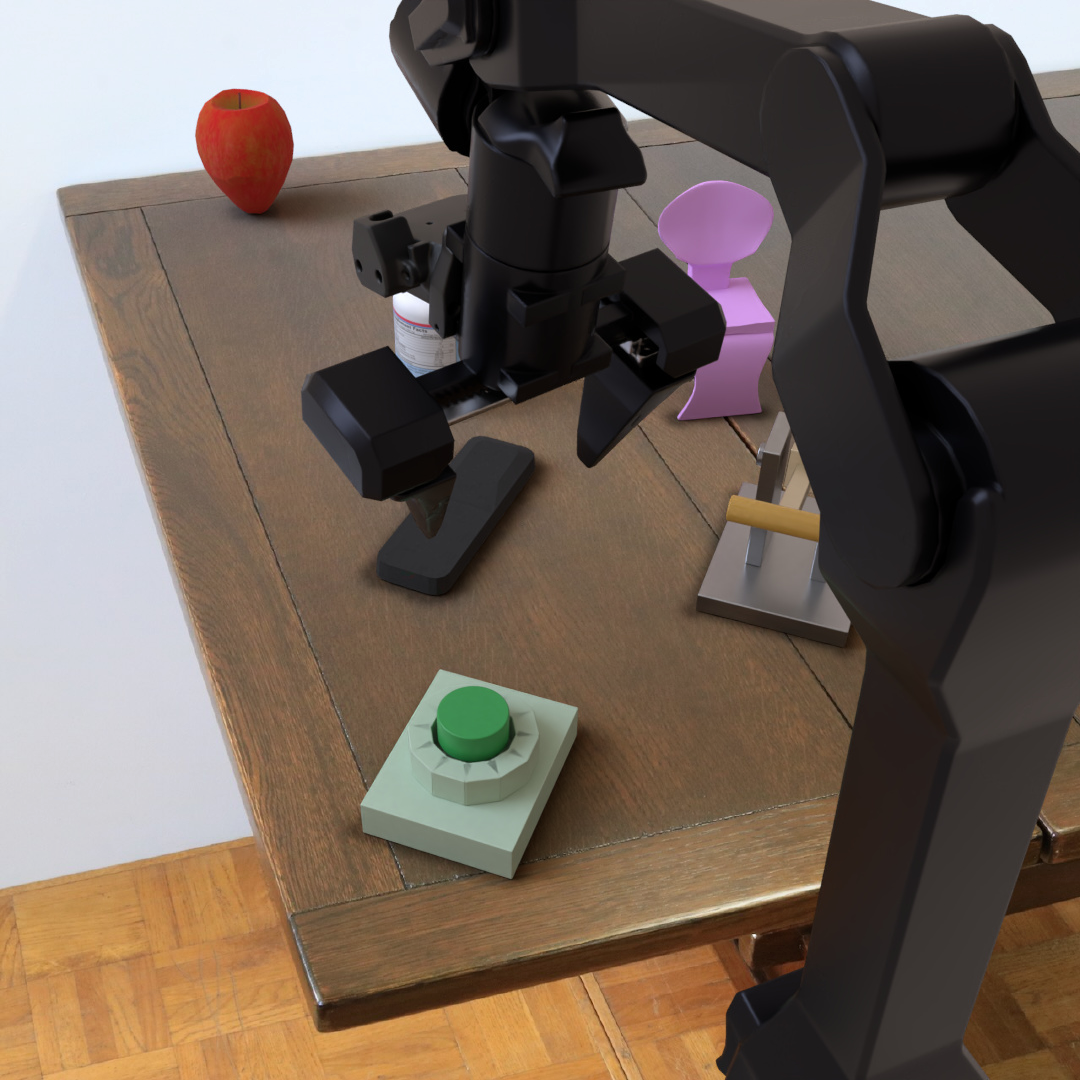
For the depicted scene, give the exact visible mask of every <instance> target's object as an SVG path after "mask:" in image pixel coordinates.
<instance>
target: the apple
mask: <svg viewBox="0 0 1080 1080" xmlns="http://www.w3.org/2000/svg"><path fill="white" fill-rule="evenodd" d="M195 125H196V126H195V131H194V138H195V144H196V150H197V153H198V156H199V158H200V161H201V163H202V166H203V168H204V170H205V171H206V173H207V174H208V176H209V178H210V179H211V180H212V182H213V183H214V184H215V185H216V187H217V188H218V189H219V190H220V191H221V192H222V193H223V194H224V195H225V196H226V197H227V198H228V199H229V200H230V202H232V203H233V204H234V205H235V206H236V207H237V208H238V209H240V210H241V211H243V212H245V213H247V214H258V215H261V214H263V213H265V212H267V211H268V210H269V209H270V208H271V206H272V205H273V204H274V202H275V201H276V199H277V198H278V195H279V193H280V191H282V188H283V186H284V184H285V182H286V180H287V177H288V174H289V171H290V168H291V165H292V163H293V160H294V149H295V143H294V142H295V141H294V137H293V129H292V125H291V123H290V121H289V118H288V116H287V113H286V111H285V110H284V108H283V107H282V106H281V104H280V103H279V102H278V100H277V99H276V98H274V97H273V96H272V95H269V94H268V93H265V92H263V91H260V90H255V89H249V88H228V89H223V90H221V91H219V92H218V93H216V94H215V95H214V96H212V97H210V98H209V99H208V100H207V101H205V102H204V104H203V105H202V108H201V109H200V111H199V113H198V117H197V120H196V124H195Z"/></svg>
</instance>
